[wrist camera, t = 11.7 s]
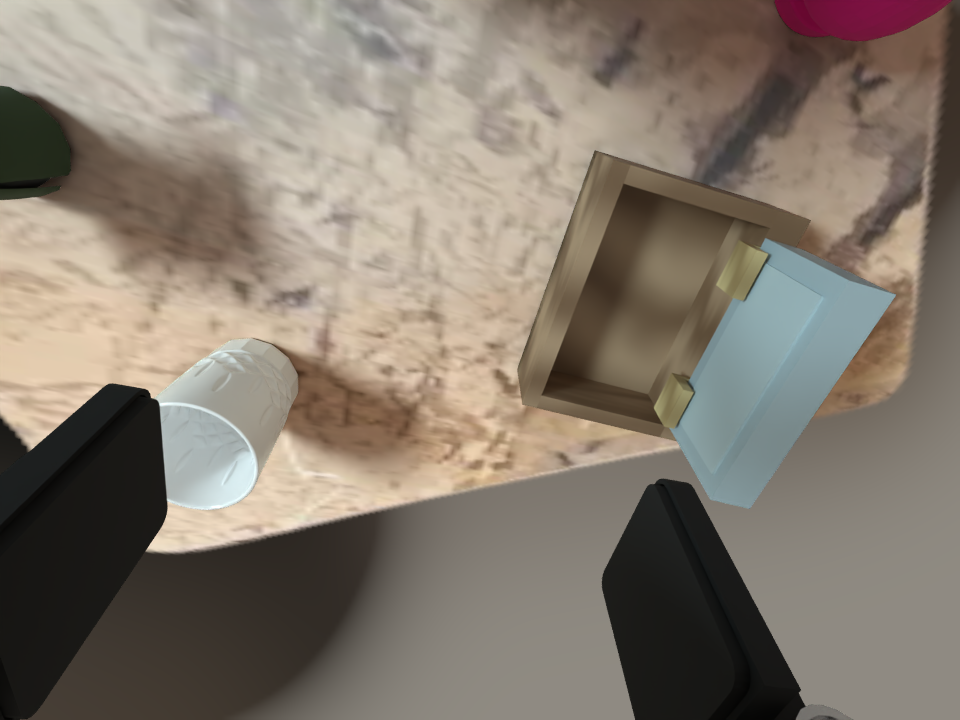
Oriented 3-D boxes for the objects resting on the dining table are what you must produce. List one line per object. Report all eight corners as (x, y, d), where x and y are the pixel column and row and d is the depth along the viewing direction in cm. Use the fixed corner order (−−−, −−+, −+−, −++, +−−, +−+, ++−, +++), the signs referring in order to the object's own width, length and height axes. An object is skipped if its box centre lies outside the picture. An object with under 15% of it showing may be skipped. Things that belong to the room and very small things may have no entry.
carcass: (594, 150, 33) (623, 164, 26) (786, 209, 34) (857, 236, 28) (517, 369, 40) (525, 423, 33) (679, 409, 41) (716, 467, 35)
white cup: (317, 350, 39) (269, 427, 30) (295, 432, 42) (246, 524, 33) (208, 315, 37) (124, 385, 29) (195, 403, 41) (116, 490, 32)
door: (763, 237, 30) (846, 279, 23) (802, 249, 30) (896, 294, 23) (664, 422, 35) (707, 499, 29) (698, 430, 36) (749, 508, 29)
